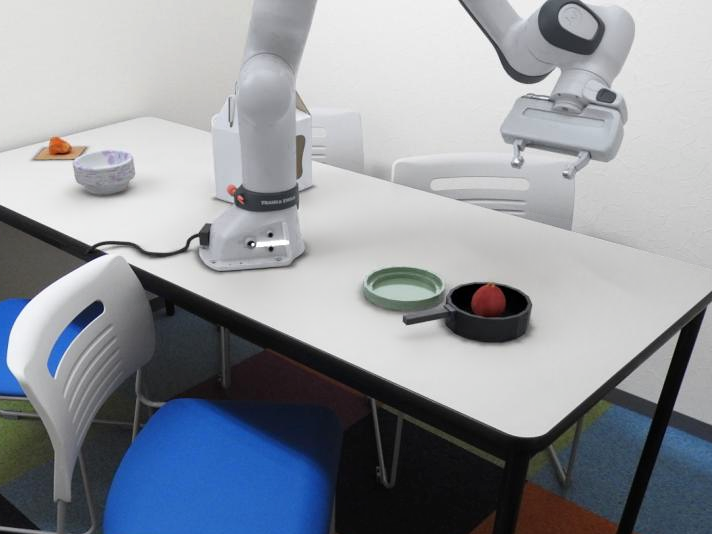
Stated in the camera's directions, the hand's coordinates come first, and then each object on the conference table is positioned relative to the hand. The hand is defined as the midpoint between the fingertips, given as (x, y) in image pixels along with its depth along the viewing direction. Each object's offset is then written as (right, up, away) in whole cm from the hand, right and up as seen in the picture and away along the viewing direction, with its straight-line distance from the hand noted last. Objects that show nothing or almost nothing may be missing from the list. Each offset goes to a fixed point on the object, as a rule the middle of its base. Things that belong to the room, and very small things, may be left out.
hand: (540, 172), depth 132 cm
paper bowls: (-89, +16, +69) cm, 114 cm away
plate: (-21, -19, +16) cm, 32 cm away
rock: (-109, +34, +96) cm, 149 cm away
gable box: (-48, +14, +65) cm, 82 cm away
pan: (-12, -26, +5) cm, 29 cm away
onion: (-8, -25, +6) cm, 27 cm away
